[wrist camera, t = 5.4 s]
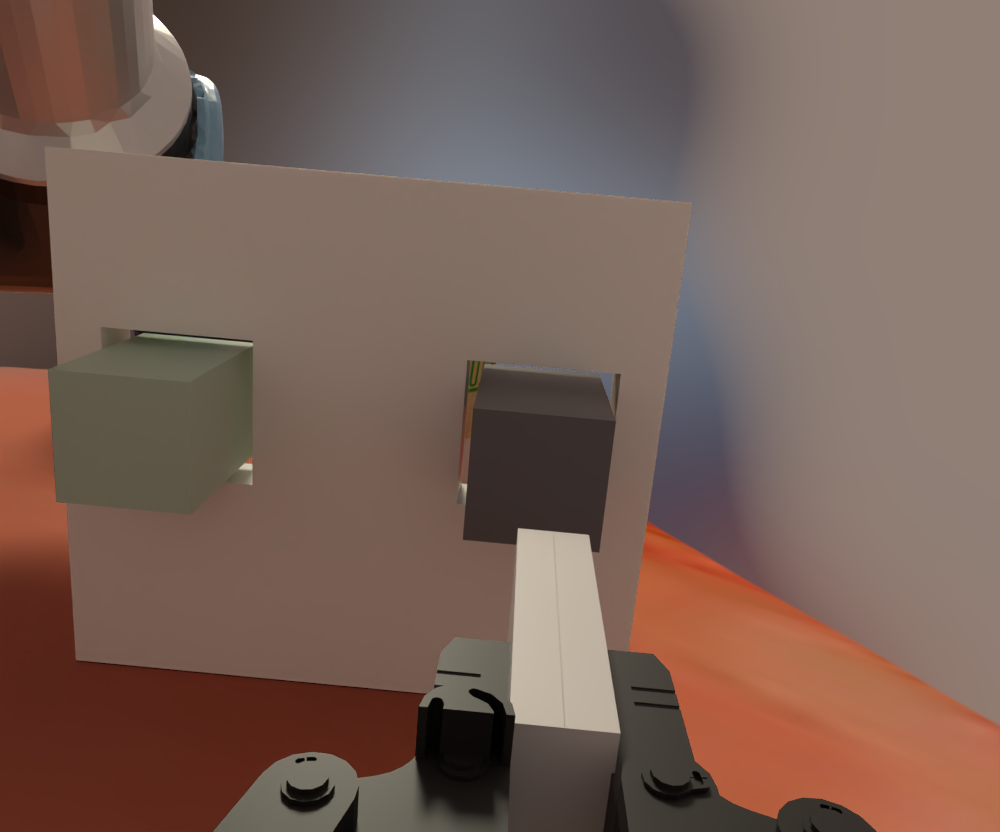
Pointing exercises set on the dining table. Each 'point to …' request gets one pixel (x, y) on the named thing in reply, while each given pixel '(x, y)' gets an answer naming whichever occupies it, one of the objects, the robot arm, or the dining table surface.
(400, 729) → the dining table surface
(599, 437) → the black button
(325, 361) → the button panel
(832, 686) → the dining table surface
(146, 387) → the sage button
